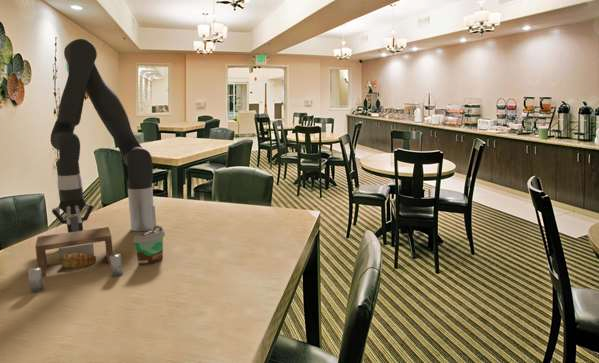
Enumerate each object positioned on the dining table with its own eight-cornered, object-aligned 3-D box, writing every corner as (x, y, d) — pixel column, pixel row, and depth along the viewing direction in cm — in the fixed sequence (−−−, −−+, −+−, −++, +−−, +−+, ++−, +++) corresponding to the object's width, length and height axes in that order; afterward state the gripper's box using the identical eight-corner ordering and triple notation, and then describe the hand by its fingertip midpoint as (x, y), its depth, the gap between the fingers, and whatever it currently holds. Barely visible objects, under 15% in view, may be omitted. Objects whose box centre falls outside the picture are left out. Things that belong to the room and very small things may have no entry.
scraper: (91, 235, 151) (89, 213, 148) (94, 254, 135) (91, 230, 133) (61, 240, 146) (58, 217, 144) (60, 259, 131) (56, 234, 128)
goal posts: (121, 271, 121) (120, 253, 119) (123, 275, 118) (121, 256, 117) (31, 289, 110) (28, 268, 108) (30, 293, 107) (27, 272, 106)
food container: (153, 268, 123) (151, 237, 121) (135, 267, 124) (132, 236, 122) (173, 254, 135) (171, 225, 133) (157, 252, 136) (154, 224, 134)
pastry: (97, 258, 132) (96, 247, 131) (94, 266, 125) (93, 255, 125) (65, 262, 129) (64, 251, 128) (60, 270, 122) (59, 259, 122)
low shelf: (111, 253, 135) (108, 227, 133) (114, 263, 127) (111, 235, 125) (41, 265, 126) (37, 236, 124) (39, 277, 117) (35, 246, 115)
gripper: (91, 183, 150) (96, 227, 153) (48, 186, 143) (54, 233, 146) (92, 186, 143) (97, 232, 147) (47, 190, 137) (53, 238, 140)
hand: (75, 232), depth 147 cm, fingers closed on scraper
